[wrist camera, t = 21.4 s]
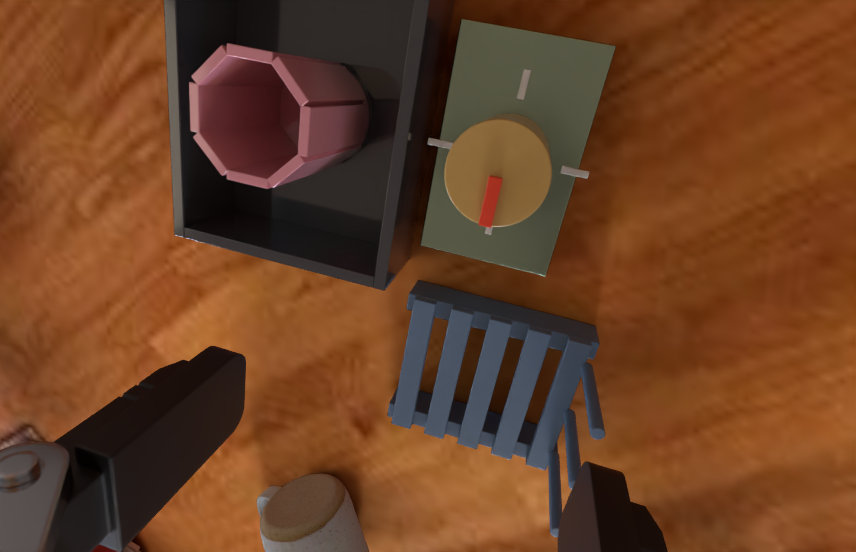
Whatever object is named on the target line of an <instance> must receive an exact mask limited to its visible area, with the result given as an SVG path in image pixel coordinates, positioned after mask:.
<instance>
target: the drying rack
mask: <svg viewBox="0 0 856 552" xmlns="http://www.w3.org/2000/svg"><path fill="white" fill-rule="evenodd" d="M407 309H408V310H411V311H412V314H411V320H410V325H409V331H408V336H407V341H406V347H405V352H404V358H403V363H402V369H401V374H400V379H399V385H398V387H397V389H396V391H395V393H394V395H393V397H392V399H391V401H390V403H389V409H388V414H387V416H389V417H392V424H395V425H398V426H402V427H405V428H408V429H410V428H411V425H412V424H415V425H418V426H422V427H425V430H424V433H425V434H428V435H431V436H434V437H438V438H441V439H443V438H444V434H448V435H451V436H455V437H458V441H457V444H460V445H464V446H467V447H470V448H473V449H477V446H478V444H481V445H484V446H488V447H491V448H492V450H491V454H493V455H497V456H500V457H503V458H506V459H510V460H511V458H512V455H513V454H514V455H517V456H520V457H524V458H526V465H529V466H532V467H536V468H539V469H542V470H546V469H547V466H548V467H549V515H550V533H551V535H553V536H554V537H558V532H559V525H560V520H561V516H562V500H561V481H560V461H559V454H558V447H557V440H558V437H559V434H560V432H561V429H562V426H563V424H564V426H565V440H566V454H567V468H568V482H569V487H570V488H571V489H572V488H573V486H574V484H575V481H576V479H577V476H578V474H579V471H580V469H581V463H580V453H579V444H578V435H577V426H576V416H575V412H574V411H573V410H571V409H569V408H570V405H571V402H572V399H573V397H574V394H575V391H576V389H577V386H578V383H579V381H580V378H581V375H582V382H583V389H584V396H585V402H586V409H587V416H588V423H589V430H590V435H591V437H592V438H594V439H597V440H599V439H602V438H604V436H605V429H604V424H603V419H602V413H601V408H600V403H599V398H598V392H597V387H596V382H595V377H594V371H593V367H592V365H591V364H589V363H586V362H587V359H588V358H590V359H594V357H595V355H596V352H597V349H598V347H599V344H600V343H599V339H598V335H597V331H596V326H594V325H591V324H587V323H583V322H579V321H575V320H571V319H567V318H563V317H560V316H556V315H552V314H548V313H544V312H540V311H536V310H533V309H529V308H525V307H521V306H517V305H513V304H509V303H505V302H502V301H498V300H494V299H490V298H486V297H482V296H478V295H475V294H471V293H467V292H463V291H459V290H455V289H451V288H447V287H444V286H440V285H436V284H432V283H428V282H424V281H420V280H418V281H417V283H416V284H415V286H414V287H413V289H412V290H411V292H410V293H409V297H408V303H407ZM434 317H437V318H441V319H445V320H448V321H449V323H448V327H447V332H446V336H445V341H444V345H443V350H442V354H441V359H440V363H439V368H438V372H437V377H436V381H435V386H434V390H433V394H430V393H427V392H423V391H420V390H419V388H420V383H421V379H422V374H423V369H424V364H425V359H426V355H427V350H428V345H429V340H430V335H431V330H432V326H433V321H434ZM471 327H475V328H478V329H482V330H486V335H485V338H484V342H483V346H482V350H481V354H480V357H479V361H478V365H477V369H476V373H475V376H474V380H473V384H472V388H471V392H470V395H469V399H468V403H467V404H464V403H461V402H457V401H454V400H453V398H454V394H455V389H456V385H457V381H458V377H459V373H460V369H461V365H462V361H463V357H464V353H465V349H466V345H467V341H468V337H469V333H470V329H471ZM509 337H512V338H515V339H519V340H523V341H524V344H523V347H522V350H521V354H520V357H519V360H518V363H517V367H516V370H515V373H514V377H513V380H512V383H511V386H510V390H509V393H508V396H507V400H506V403H505V406H504V410H503V413H502V414H498V413H495V412H492V411H488V408H489V405H490V401H491V398H492V394H493V391H494V387H495V384H496V380H497V377H498V373H499V370H500V366H501V363H502V359H503V356H504V352H505V349H506V345H507V342H508V338H509ZM548 347H549V348H553V349H556V350H560V351H563V353H562V356H561V359H560V361H559V364H558V367H557V370H556V373H555V376H554V379H553V382H552V385H551V387H550V390H549V393H548V396H547V399H546V402H545V405H544V408H543V411H542V413H541V416H540V419H539V422H538V425H536V424H533V423H529V422H526V421H524V419H525V416H526V412H527V409H528V406H529V403H530V400H531V397H532V394H533V391H534V388H535V385H536V382H537V379H538V376H539V373H540V370H541V367H542V364H543V361H544V358H545V355H546V352H547V349H548Z"/></svg>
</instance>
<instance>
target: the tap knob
mask: <svg viewBox="0 0 856 552" xmlns="http://www.w3.org/2000/svg"><path fill="white" fill-rule="evenodd" d="M444 179H445V185H446V189H447V192H448V195H449V197H450V199H451V201H452V202H453V204H454V205H455V207H456V208H457V209H458V210H459V211H460V212H461V213H462V214H463V215H464V216H466V217H467V218H468V219H470V220H472V221H474V222H476V223H478V225H480V226H484V227H488V228H491V227H503V226H509V225H513V224H516V223H519V222H521V221H523V220H524V219H526V218H527V217H529V216H530V215H532V214H533V213H534V212H535V211H536V210H537V209H538V208H539V207H540V205H541V204H542V202H543V201H544V199H545V197H546V195H547V193H548V191H549V188H550V184H551V179H552V164H551V158H550V151H549V146H548V142H547V139H546V137H545V135H544V133H543V132H542V130H541V129H540V128H539V126H538V125H537V124H536V123H534V122H533V121H532V120H530V119H528V118H527V117H524V116H522V115H518V114H511V113H507V114H499V115H496V116H493V117H491V118H488V119H486V120H484V121H482V122H479V123H477V124H475V125H473V126H471V127H470V128H468V129H467V130H466V131H464V132H463V133H462V134H461V135H460V136H459V137H458V138H457V139H456V141H455V142H454V144H453V145H452V147H451V149H450V151H449V153H448V156H447V159H446V163H445V170H444Z"/></svg>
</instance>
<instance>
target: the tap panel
mask: <svg viewBox="0 0 856 552" xmlns="http://www.w3.org/2000/svg"><path fill="white" fill-rule="evenodd" d="M615 48H616V46H615V45H611V44H605V43H599V42H593V41H588V40H582V39H576V38H571V37H565V36H559V35H553V34H548V33H542V32H536V31H531V30H525V29H519V28H513V27H508V26H502V25H496V24H490V23H485V22H479V21H473V20H468V19H461V21H460V27H459V32H458V38H457V44H456V49H455V55H454V60H453V66H452V71H451V77H450V82H449V88H448V93H447V99H446V104H445V110H444V115H443V121H442V127H441V132H440V138H439V139H435V138H430V137H429V138H428V144H429V145H433V146H438V149H437V154H436V160H435V165H434V171H433V176H432V182H431V187H430V193H429V198H428V204H427V209H426V215H425V221H424V226H423V232H422V237H421V243H420V245H421V246H425V247H429V248H433V249H437V250H441V251H445V252H449V253H453V254H457V255H461V256H465V257H469V258H473V259H477V260H481V261H485V262H489V263H493V264H497V265H501V266H506V267H510V268H514V269H518V270H522V271H526V272H530V273H534V274H538V275H542V276H546V274H547V271H548V267H549V264H550V261H551V258H552V254H553V251H554V248H555V245H556V241H557V238H558V235H559V231H560V228H561V225H562V222H563V218H564V215H565V212H566V208H567V205H568V202H569V199H570V195H571V192H572V189H573V186H574V182H575V179H576V176H577V177H582V178H586V179H587V178H588V175H589V171H585V170H580V169H579V166H580V163H581V159H582V156H583V153H584V150H585V146H586V143H587V140H588V136H589V133H590V130H591V127H592V123H593V120H594V117H595V114H596V110H597V107H598V104H599V100H600V97H601V94H602V91H603V87H604V84H605V81H606V77H607V74H608V71H609V68H610V64H611V61H612V58H613V55H614V51H615ZM507 113H511V114H518V115H522V116H524V117H527V118H528V119H530V120H532V121H533V122H534V123H536V124H537V125H538V126H539V128H540V129H541V130H542V132H543V133H544V135H545V137H546V139H547V142H548V146H549V151H550V158H551V164H552V179H551V184H550V188H549V191H548V193H547V195H546V197H545V199H544V201H543V202H542V204H541V205H540V207H539V208H538V209H537V210H536V211H535V212H534V213H533V214H532V215H530V216H529V217H527V218H526V219H524V220H523V221H521V222H519V223H516V224H513V225H509V226H503V227H491V228H488V227H484V226H480V225H478V223H476V222H474V221H472V220H470V219H468V218H467V217H466V216H464V215H463V214H462V213H461V212H460V211H459V210H458V209H457V208H456V207H455V205H454V204H453V202H452V201H451V199H450V197H449V195H448V192H447V189H446V185H445V179H444V170H445V163H446V159H447V156H448V153H449V151H450V149H451V147H452V145H453V144H454V142H455V141H456V139H457V138H458V137H459V136H460V135H461V134H462V133H463V132H464V131H466V130H467V129H468V128H470V127H471V126H473V125H475V124H477V123H479V122H482V121H484V120H486V119H488V118H491V117H493V116H496V115H499V114H507Z"/></svg>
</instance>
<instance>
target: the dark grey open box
mask: <svg viewBox="0 0 856 552" xmlns="http://www.w3.org/2000/svg"><path fill="white" fill-rule="evenodd" d="M454 1H455V0H164V15H165V37H166V59H167V82H168V104H169V126H170V148H171V170H172V192H173V215H174V235H176V236H180V237H183V238H187V239H191V240H195V241H198V242H202V243H206V244H210V245H213V246H217V247H221V248H225V249H229V250H232V251H236V252H240V253H244V254H247V255H251V256H255V257H259V258H263V259H266V260H270V261H274V262H278V263H281V264H285V265H289V266H293V267H297V268H300V269H304V270H308V271H312V272H315V273H319V274H323V275H327V276H331V277H334V278H338V279H342V280H346V281H349V282H353V283H357V284H361V285H365V286H368V287H373V288H376V289H380V290H383V291H384V290H385V289H386V288H387V287H388V285H389V284H390V283H391V282H392V280H393V279H394V278H395V277H396V275H397V274H398V273H399V272H400V270H401V269H402V268H403V267H404V265H405V264H406V263H407V262H408V260H409V259H410V255H411V249H412V243H413V237H414V232H415V226H416V220H417V214H418V208H419V203H420V197H421V191H422V185H423V180H424V174H425V168H426V162H427V157H428V151H429V144H428V138H429V137H430V138H431V134H432V128H433V122H434V116H435V110H436V105H437V99H438V93H439V87H440V82H441V76H442V70H443V64H444V59H445V53H446V47H447V41H448V36H449V30H450V24H451V18H452V12H453V7H454ZM227 43H230V44H236V45H242V46H248V47H254V48H260V49H266V50H272V51H278V52H284V53H290V54H296V55H302V56H308V57H313V58H318V59H324V60H329V61H334V62H339V63H340V65H341V66H345V67H346V69H347V70H348V71H349V72H351V73H352V75H353V76H354V77H355V78H356V79H357V80H358V82H359V83H360V85H361V87H362V88H363V91H364V93H365V95H366V98H367V102H368V107H369V126H368V131H367V134H366V137H365V139H364V142H363V143H362V144H361V147H360V148H359V149H358V150H357V151H356V152H355V153H354V154H353V155H352V156H350V157H349V158H347V159H345V160H343V161H342V162H341V163H339V164H338V165H337V166H335V167H332V168H329V169H326V170H323V171H321V172H318V173H315V174H312V175H309V176H306V177H303V178H300V179H297V180H295V181H292V182H289V183H286V184H283V185H280V186H277V187H274V188H269V189H265V188H261V187H257V186H253V185H249V184H244V183H240V182H236V181H232V180H228V179H227V175H223V176H222V175H221V174H220V173H219V171H218V170H217V169H216V167H215V166H214V165H213V163H212V162H211V161H210V159H209V158H208V157H207V155H206V154H205V153H204V151H203V150H202V149H201V147H200V146H199V145H198V143H197V142H196V141H195V139H194V138H193V136H194V135H195V134H197V133H196V132H192V131H191V130H190V99H189V82H195V81H194V80H193V78H192V77H191V76H192V75H193V74H194V73H195V72H196V71H197V70H198V69H199V68H200V67H201V66H202V65H203V63H204V62H205V61H206V60H207V59H208V58H209V57H210V56H211V55H212V54H213V53H214V52H215V51H216V50H217V49H218V48H219V47H220V46H221V45H224V46H227Z"/></svg>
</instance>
